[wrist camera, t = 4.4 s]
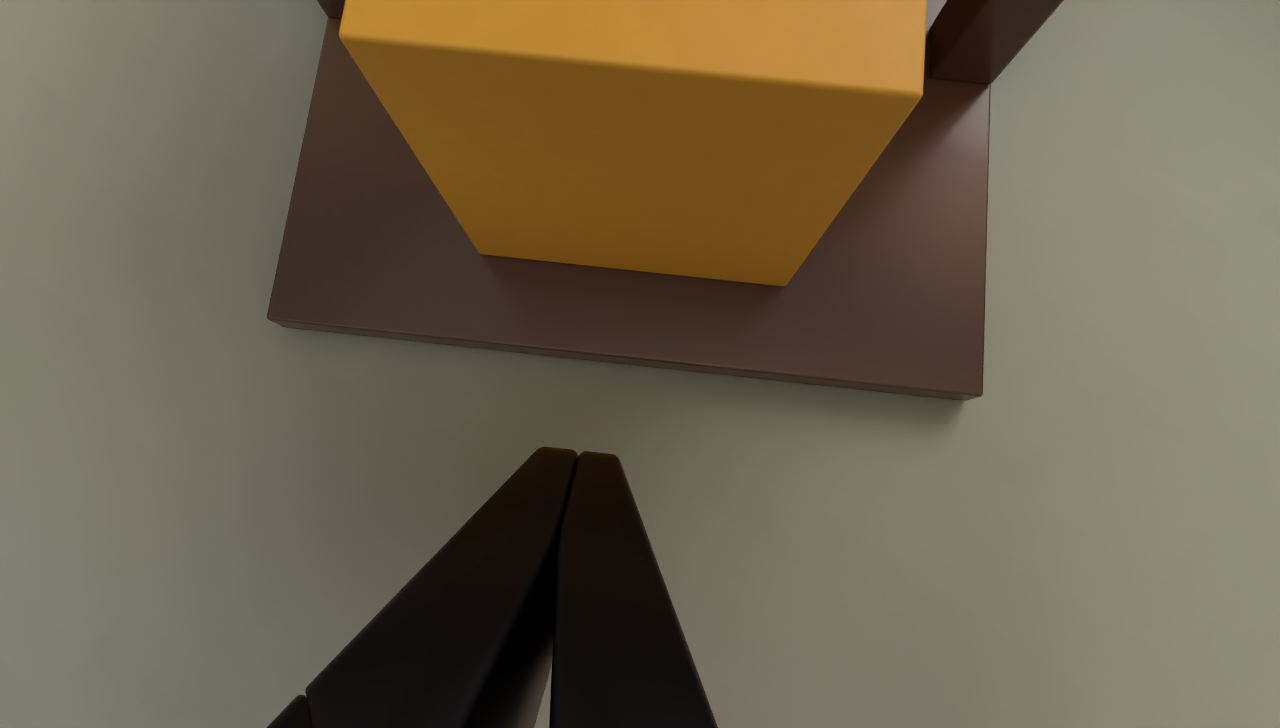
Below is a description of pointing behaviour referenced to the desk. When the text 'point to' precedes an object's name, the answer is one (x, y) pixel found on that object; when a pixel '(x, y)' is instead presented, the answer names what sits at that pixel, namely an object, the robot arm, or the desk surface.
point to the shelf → (663, 303)
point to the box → (645, 121)
